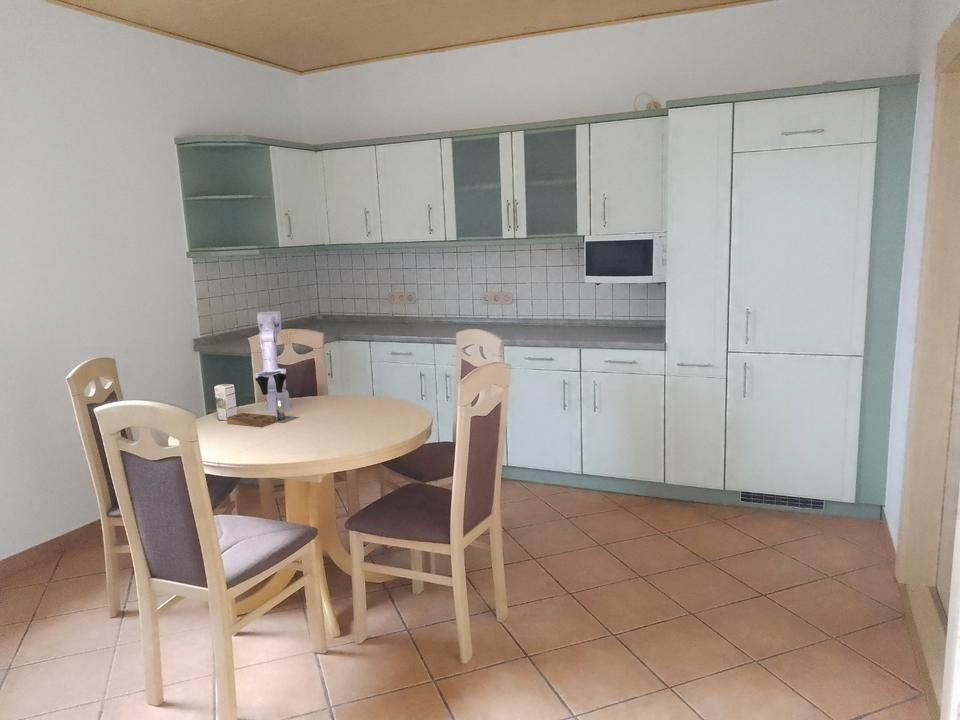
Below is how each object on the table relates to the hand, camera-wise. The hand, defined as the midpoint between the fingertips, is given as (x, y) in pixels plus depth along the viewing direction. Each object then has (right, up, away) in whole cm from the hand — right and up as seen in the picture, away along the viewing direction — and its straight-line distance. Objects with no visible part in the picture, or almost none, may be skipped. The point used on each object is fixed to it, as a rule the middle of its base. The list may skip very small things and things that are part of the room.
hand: (272, 393), depth 281 cm
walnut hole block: (-8, -12, 0) cm, 14 cm away
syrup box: (-21, -11, +9) cm, 26 cm away
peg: (+3, -11, +3) cm, 12 cm away
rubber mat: (+3, -11, +4) cm, 12 cm away
